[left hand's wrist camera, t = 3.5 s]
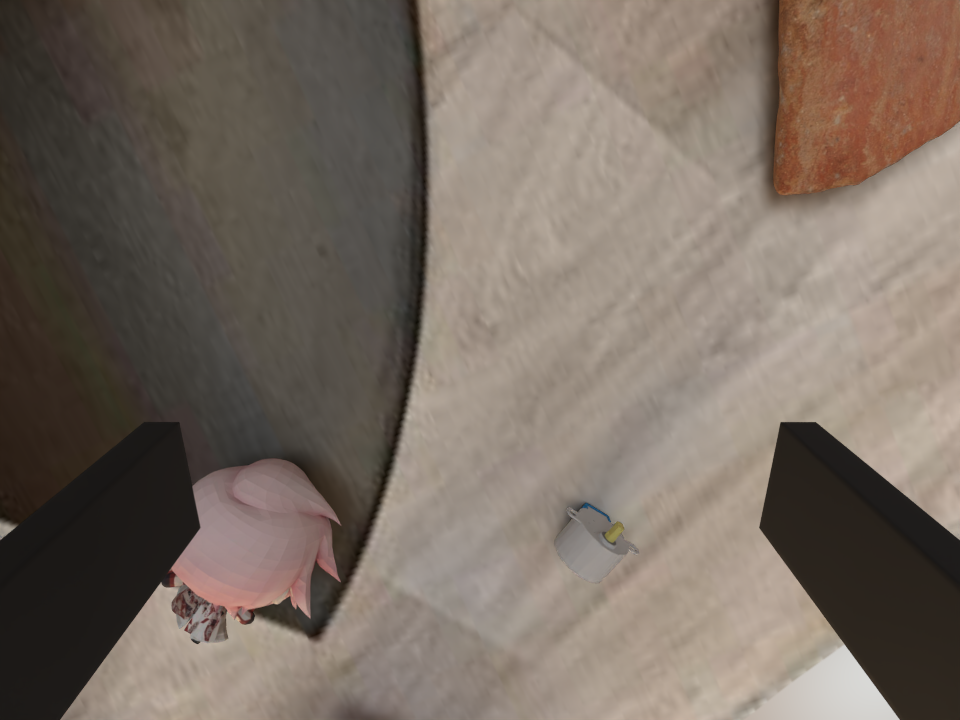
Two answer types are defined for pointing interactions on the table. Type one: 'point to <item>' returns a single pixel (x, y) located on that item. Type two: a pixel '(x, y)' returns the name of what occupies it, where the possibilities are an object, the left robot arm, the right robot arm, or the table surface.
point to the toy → (250, 546)
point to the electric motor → (592, 544)
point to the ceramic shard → (861, 87)
